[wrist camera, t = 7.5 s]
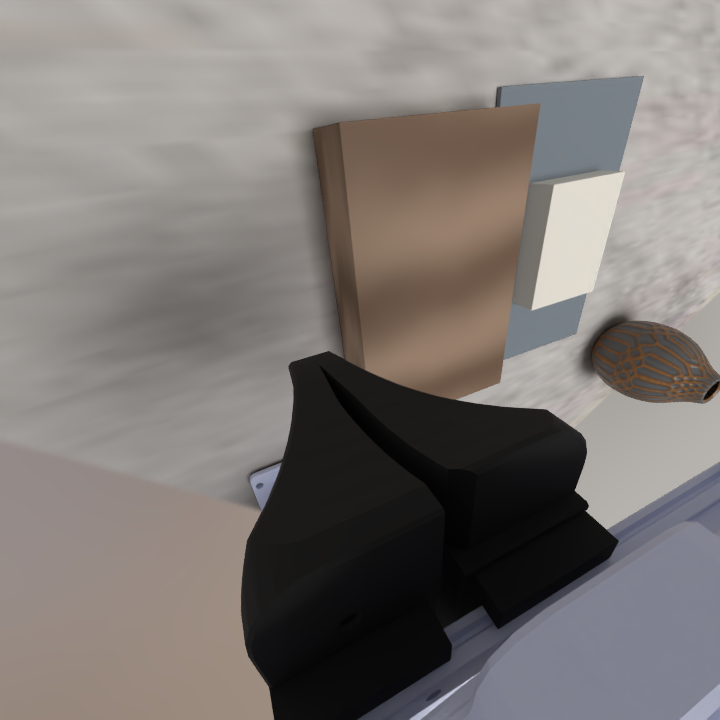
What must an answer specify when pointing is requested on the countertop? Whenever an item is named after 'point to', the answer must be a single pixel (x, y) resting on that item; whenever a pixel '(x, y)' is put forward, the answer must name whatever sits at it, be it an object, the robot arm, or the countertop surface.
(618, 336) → the vase
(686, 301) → the countertop surface
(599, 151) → the mat
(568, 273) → the tile
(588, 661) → the robot arm
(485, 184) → the block
